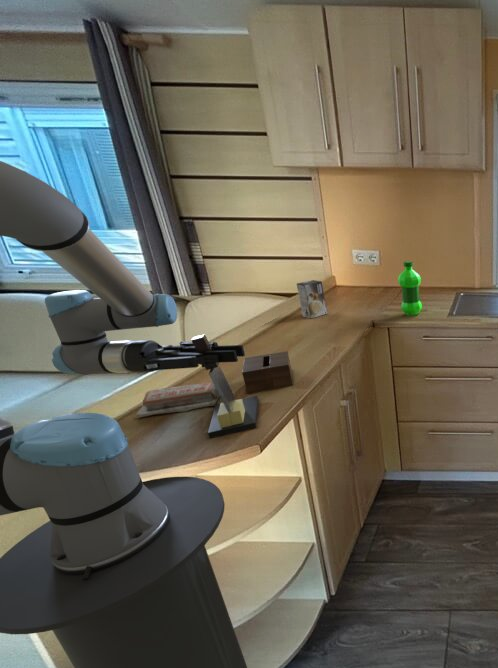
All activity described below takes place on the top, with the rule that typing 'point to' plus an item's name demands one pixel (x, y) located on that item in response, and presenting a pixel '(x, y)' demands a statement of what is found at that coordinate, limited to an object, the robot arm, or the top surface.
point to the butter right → (237, 412)
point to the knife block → (267, 372)
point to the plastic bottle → (410, 289)
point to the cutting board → (248, 423)
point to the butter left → (224, 416)
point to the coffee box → (312, 298)
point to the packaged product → (178, 399)
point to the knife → (215, 373)
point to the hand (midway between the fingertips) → (239, 353)
